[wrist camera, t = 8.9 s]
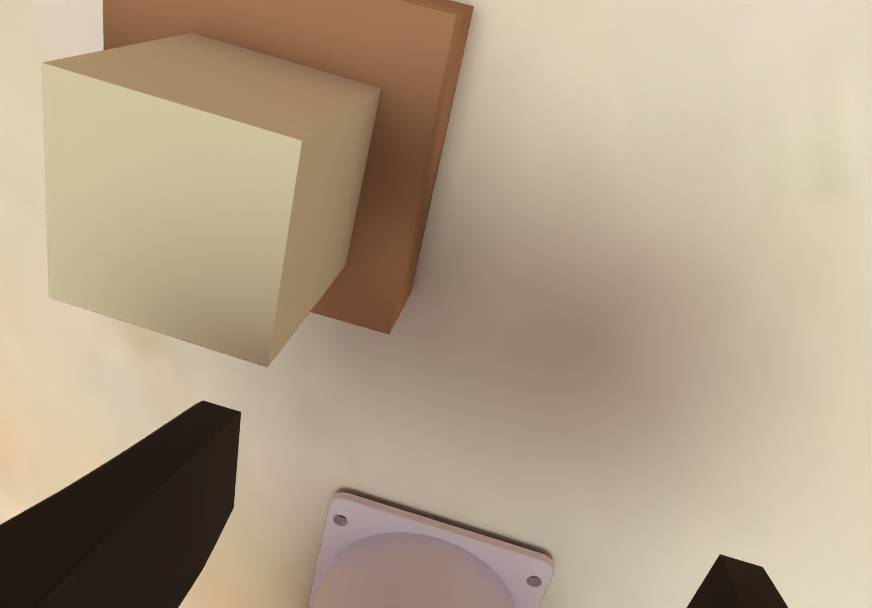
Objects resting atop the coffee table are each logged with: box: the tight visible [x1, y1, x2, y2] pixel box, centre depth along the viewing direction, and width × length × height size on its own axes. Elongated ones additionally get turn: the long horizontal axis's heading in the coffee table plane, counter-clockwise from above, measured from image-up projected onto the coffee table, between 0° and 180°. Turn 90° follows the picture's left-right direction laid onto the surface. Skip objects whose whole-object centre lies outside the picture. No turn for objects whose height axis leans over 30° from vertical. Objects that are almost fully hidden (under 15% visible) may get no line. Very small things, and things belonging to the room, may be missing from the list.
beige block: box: [42, 33, 381, 367], centre depth 15 cm, size 4×4×5 cm
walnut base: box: [103, 0, 474, 334], centre depth 18 cm, size 8×8×3 cm
